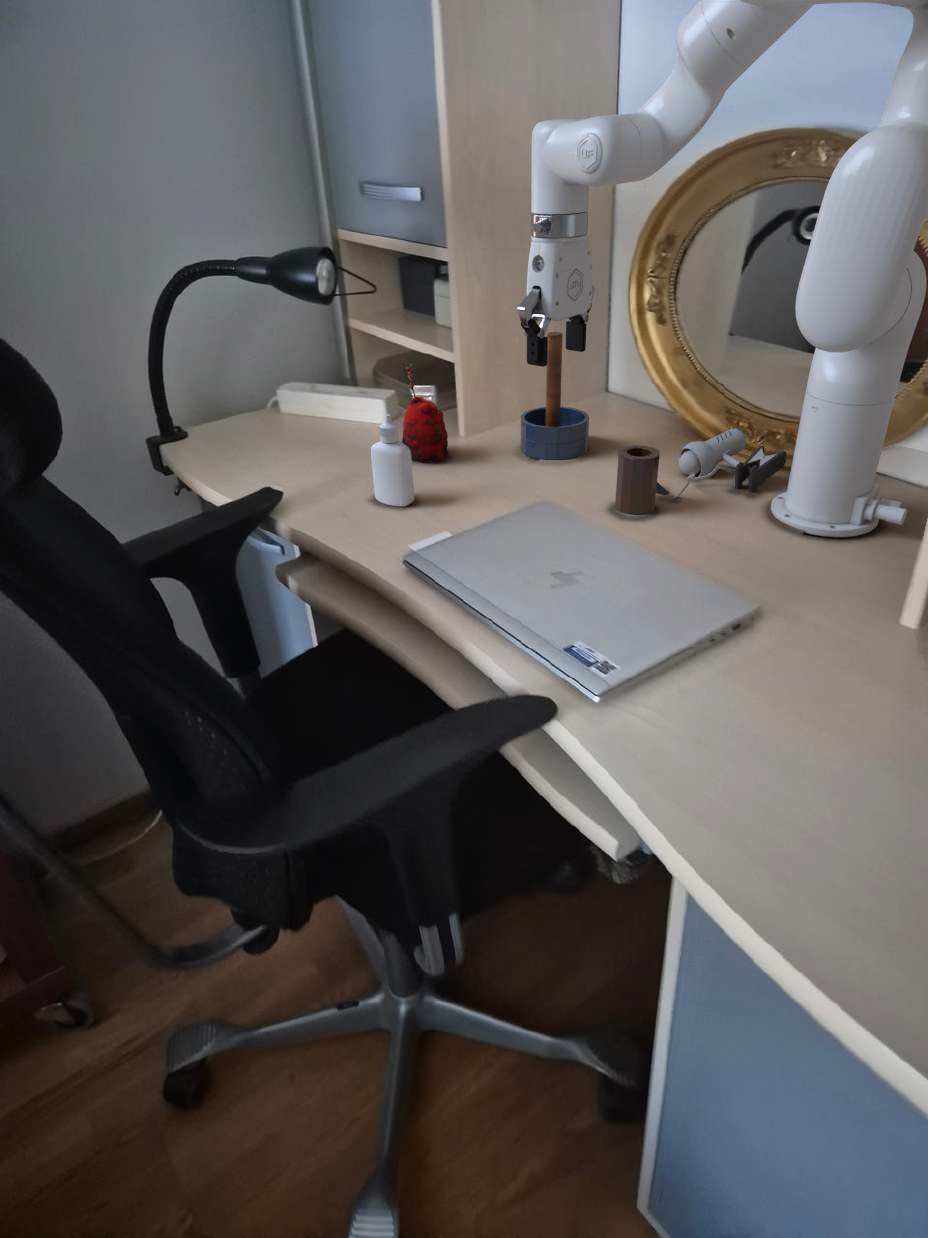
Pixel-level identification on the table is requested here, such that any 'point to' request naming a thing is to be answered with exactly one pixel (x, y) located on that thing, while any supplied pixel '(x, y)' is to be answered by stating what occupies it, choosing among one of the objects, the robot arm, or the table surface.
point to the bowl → (554, 434)
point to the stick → (553, 379)
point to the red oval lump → (424, 428)
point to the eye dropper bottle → (392, 467)
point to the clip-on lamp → (727, 460)
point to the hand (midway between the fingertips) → (556, 357)
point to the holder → (636, 479)
